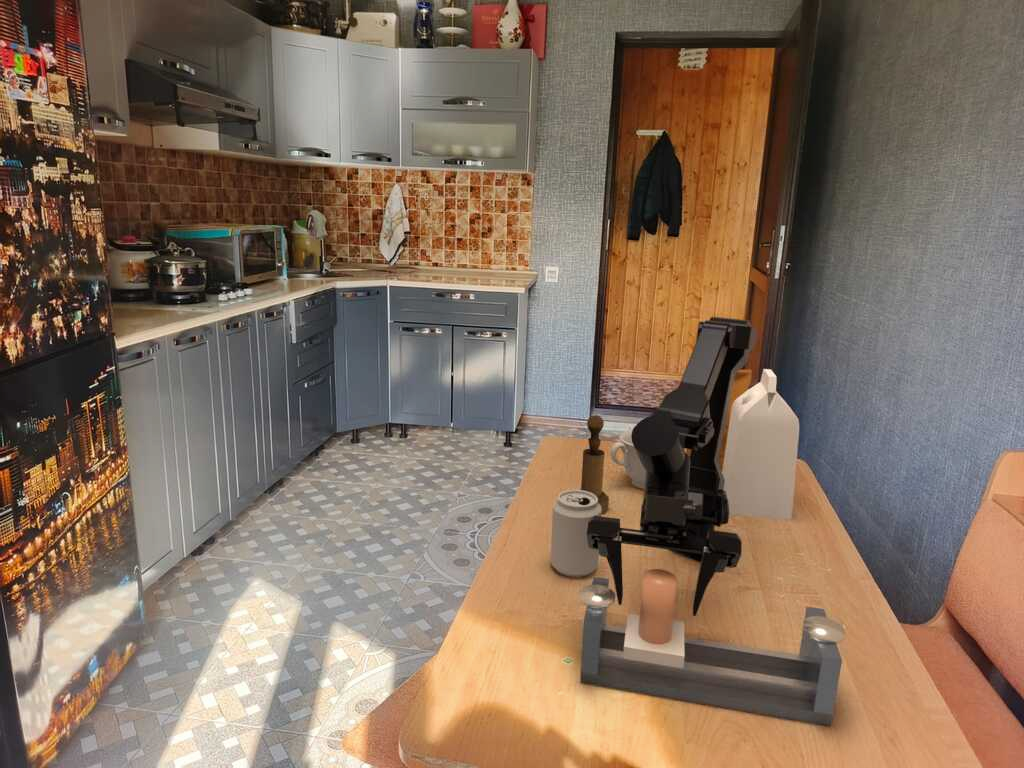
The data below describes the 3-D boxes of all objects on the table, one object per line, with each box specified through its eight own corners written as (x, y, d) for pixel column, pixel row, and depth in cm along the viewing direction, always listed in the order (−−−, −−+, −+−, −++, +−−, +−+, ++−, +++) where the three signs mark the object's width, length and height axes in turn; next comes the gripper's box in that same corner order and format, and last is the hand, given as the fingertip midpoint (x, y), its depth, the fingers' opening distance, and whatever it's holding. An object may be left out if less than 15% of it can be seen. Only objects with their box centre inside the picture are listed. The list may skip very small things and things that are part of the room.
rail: (570, 680, 84) (573, 614, 81) (581, 632, 93) (584, 571, 91) (842, 728, 77) (855, 657, 75) (824, 670, 87) (835, 606, 84)
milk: (791, 520, 128) (810, 383, 121) (726, 514, 130) (741, 378, 123) (779, 494, 139) (796, 367, 132) (719, 488, 141) (733, 363, 134)
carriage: (622, 658, 83) (628, 588, 81) (627, 624, 90) (632, 559, 87) (683, 668, 81) (690, 597, 79) (683, 633, 88) (689, 567, 86)
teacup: (593, 479, 144) (595, 433, 141) (652, 469, 150) (656, 425, 147) (626, 502, 133) (629, 453, 131) (688, 490, 139) (693, 443, 137)
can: (595, 582, 105) (600, 509, 102) (546, 576, 107) (549, 504, 104) (599, 558, 112) (604, 489, 109) (553, 552, 114) (556, 484, 111)
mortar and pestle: (611, 503, 133) (617, 413, 128) (604, 517, 127) (610, 423, 122) (577, 498, 135) (582, 409, 130) (568, 511, 129) (573, 419, 124)
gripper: (593, 456, 87) (575, 580, 80) (749, 473, 83) (747, 605, 76) (596, 490, 97) (581, 604, 89) (736, 507, 93) (733, 627, 85)
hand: (656, 609), depth 84 cm, fingers open, 8 cm apart
